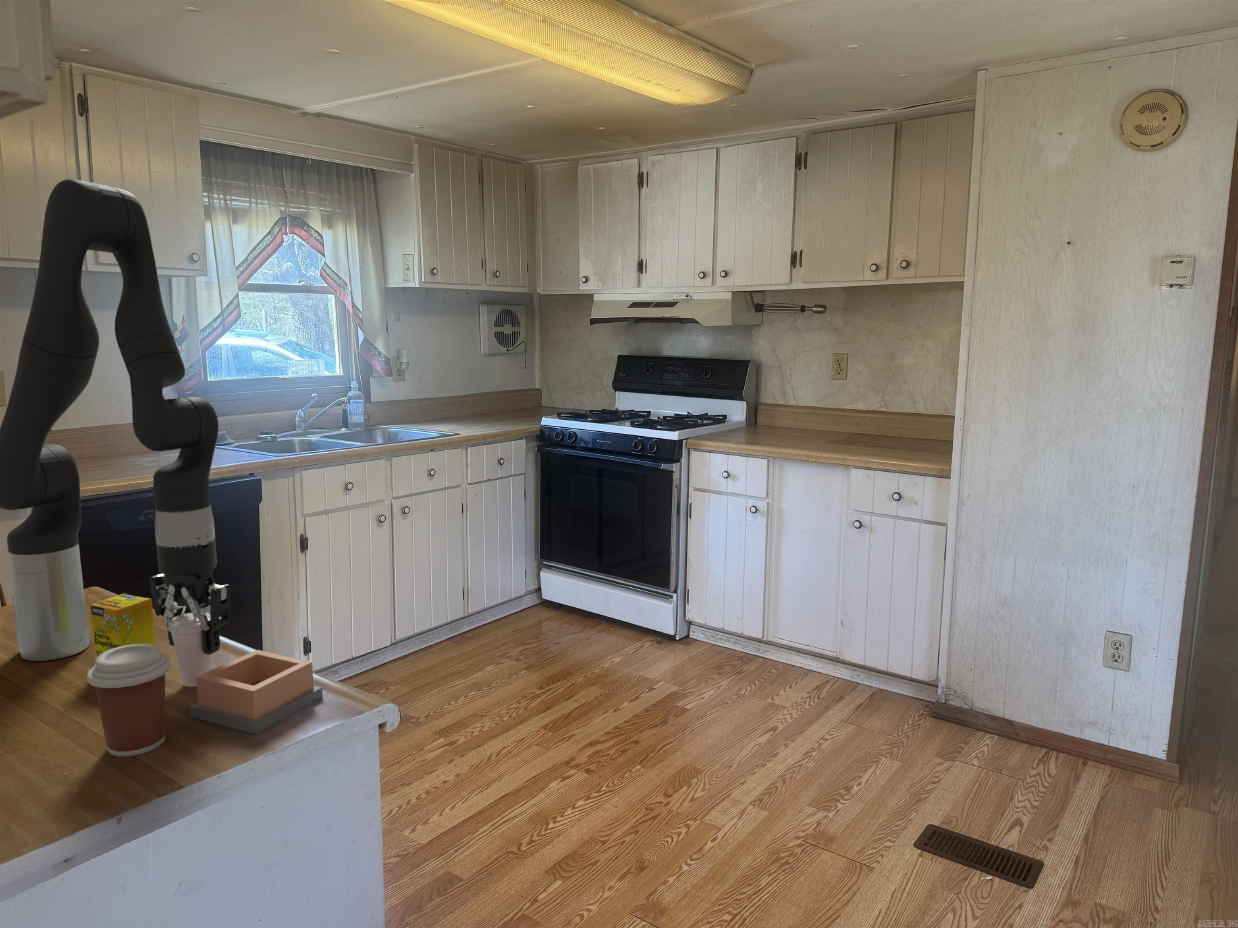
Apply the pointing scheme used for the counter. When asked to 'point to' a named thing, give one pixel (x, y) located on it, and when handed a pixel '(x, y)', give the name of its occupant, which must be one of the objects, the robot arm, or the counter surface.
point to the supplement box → (122, 622)
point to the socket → (255, 691)
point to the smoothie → (189, 647)
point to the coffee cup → (131, 697)
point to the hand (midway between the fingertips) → (194, 647)
